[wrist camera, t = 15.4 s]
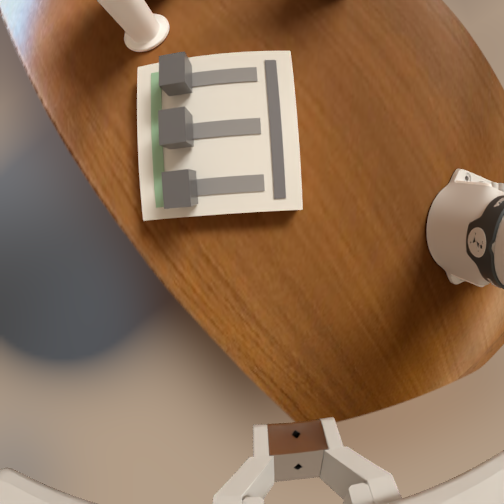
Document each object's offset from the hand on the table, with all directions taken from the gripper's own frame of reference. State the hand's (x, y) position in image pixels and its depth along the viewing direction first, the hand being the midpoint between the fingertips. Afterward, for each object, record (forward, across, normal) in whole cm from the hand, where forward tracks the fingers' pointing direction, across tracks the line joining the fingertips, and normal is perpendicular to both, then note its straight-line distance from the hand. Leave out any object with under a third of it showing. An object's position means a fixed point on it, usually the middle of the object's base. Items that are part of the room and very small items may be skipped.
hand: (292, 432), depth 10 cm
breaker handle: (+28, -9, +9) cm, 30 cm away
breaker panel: (+31, -5, +16) cm, 35 cm away
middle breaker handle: (+28, -9, +16) cm, 33 cm away
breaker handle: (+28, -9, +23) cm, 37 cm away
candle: (+31, -15, +34) cm, 49 cm away
